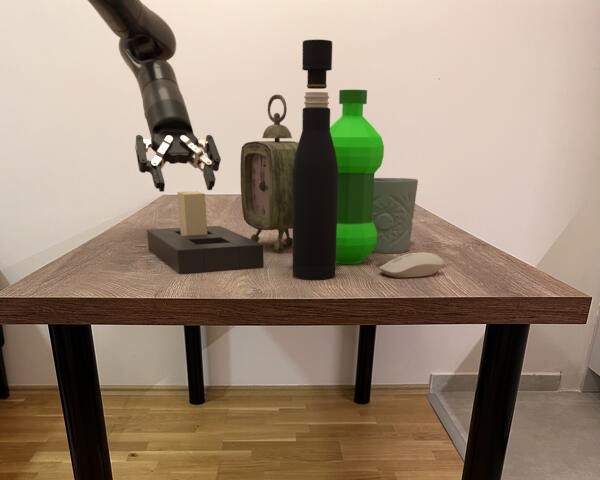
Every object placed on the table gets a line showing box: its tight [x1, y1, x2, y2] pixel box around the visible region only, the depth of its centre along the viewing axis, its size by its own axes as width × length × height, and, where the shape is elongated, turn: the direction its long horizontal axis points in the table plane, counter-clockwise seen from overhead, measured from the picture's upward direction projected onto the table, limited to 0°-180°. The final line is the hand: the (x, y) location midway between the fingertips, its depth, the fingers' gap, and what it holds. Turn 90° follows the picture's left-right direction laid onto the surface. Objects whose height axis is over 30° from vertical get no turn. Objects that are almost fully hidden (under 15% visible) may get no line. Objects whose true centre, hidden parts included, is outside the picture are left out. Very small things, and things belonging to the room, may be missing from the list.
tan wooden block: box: [176, 190, 208, 236], centre depth 110 cm, size 4×5×10 cm
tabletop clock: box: [239, 94, 299, 253], centre depth 113 cm, size 14×9×25 cm, turn 27°
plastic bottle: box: [330, 89, 385, 265], centre depth 100 cm, size 10×10×25 cm
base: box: [146, 225, 265, 275], centre depth 107 cm, size 14×23×4 cm, turn 23°
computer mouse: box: [379, 252, 444, 279], centre depth 96 cm, size 6×10×3 cm, turn 111°
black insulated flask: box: [292, 39, 338, 281], centre depth 89 cm, size 6×6×30 cm
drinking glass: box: [372, 177, 419, 254], centre depth 114 cm, size 10×10×12 cm
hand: (187, 187), depth 110 cm, fingers open, 8 cm apart
